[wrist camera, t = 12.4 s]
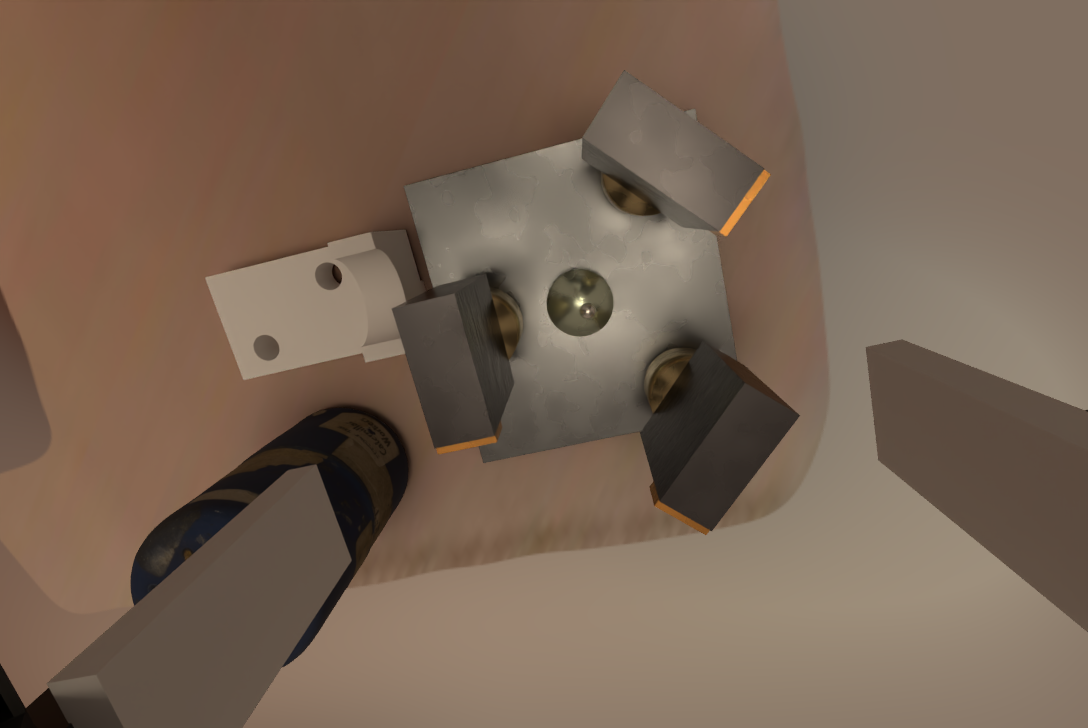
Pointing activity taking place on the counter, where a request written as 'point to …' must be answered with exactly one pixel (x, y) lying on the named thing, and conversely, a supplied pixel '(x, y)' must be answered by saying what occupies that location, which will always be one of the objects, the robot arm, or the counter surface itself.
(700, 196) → the dark grey block
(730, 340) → the level plate
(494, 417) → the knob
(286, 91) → the counter surface
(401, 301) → the bracket
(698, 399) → the brass knob with block
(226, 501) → the canister
